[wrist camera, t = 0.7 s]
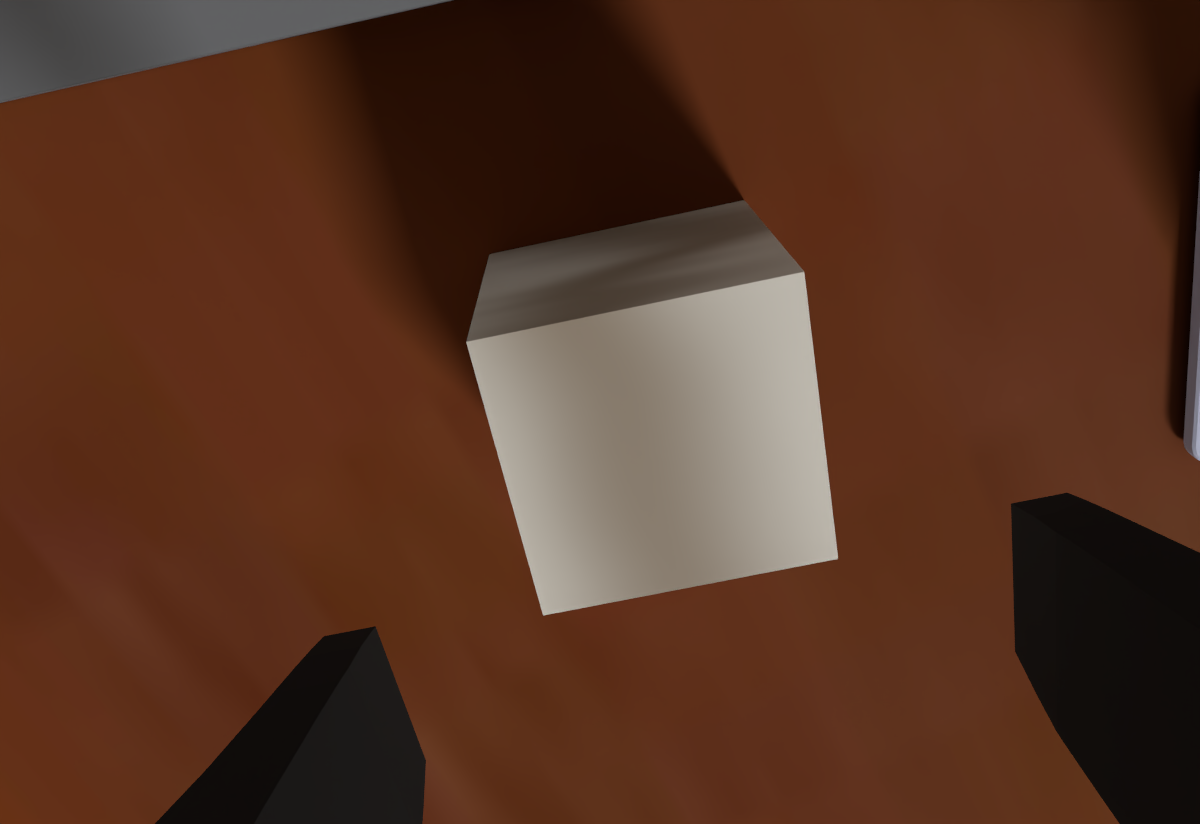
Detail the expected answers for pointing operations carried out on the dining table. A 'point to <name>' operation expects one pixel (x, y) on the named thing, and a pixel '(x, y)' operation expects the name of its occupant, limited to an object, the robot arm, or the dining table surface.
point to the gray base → (151, 34)
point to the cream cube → (655, 406)
